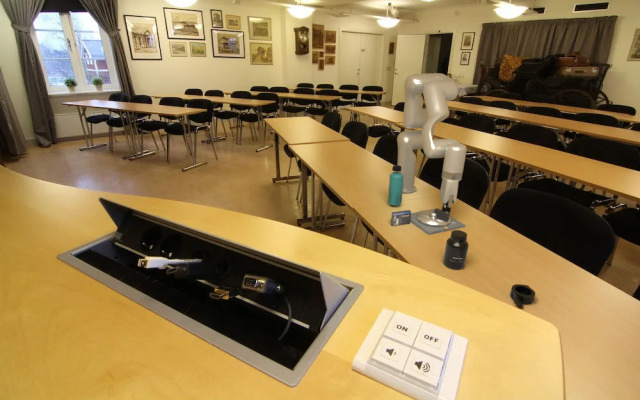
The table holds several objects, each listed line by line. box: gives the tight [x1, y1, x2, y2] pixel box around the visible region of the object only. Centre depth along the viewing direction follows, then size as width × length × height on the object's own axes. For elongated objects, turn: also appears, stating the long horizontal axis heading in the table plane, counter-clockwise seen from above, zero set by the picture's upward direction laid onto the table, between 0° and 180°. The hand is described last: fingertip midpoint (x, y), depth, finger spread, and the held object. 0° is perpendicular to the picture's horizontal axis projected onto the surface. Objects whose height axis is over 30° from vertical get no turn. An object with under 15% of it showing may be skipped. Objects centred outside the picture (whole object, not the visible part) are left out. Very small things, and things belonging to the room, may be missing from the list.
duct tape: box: [509, 283, 536, 308], centre depth 92 cm, size 8×10×3 cm
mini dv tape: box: [390, 209, 412, 227], centre depth 135 cm, size 8×2×6 cm, turn 105°
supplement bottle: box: [442, 229, 470, 270], centre depth 106 cm, size 7×7×12 cm
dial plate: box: [410, 208, 466, 236], centre depth 138 cm, size 18×18×1 cm
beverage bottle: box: [387, 164, 403, 206], centre depth 150 cm, size 6×7×20 cm
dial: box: [416, 207, 452, 227], centre depth 136 cm, size 14×14×5 cm
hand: (445, 215), depth 136 cm, fingers closed
